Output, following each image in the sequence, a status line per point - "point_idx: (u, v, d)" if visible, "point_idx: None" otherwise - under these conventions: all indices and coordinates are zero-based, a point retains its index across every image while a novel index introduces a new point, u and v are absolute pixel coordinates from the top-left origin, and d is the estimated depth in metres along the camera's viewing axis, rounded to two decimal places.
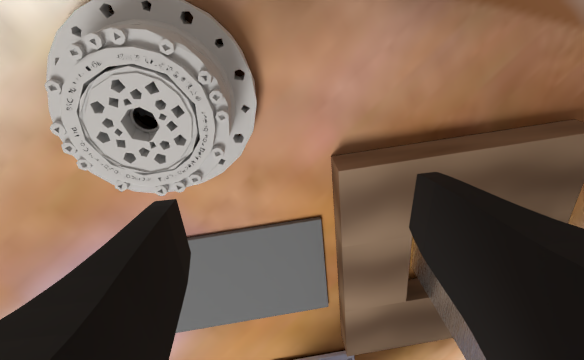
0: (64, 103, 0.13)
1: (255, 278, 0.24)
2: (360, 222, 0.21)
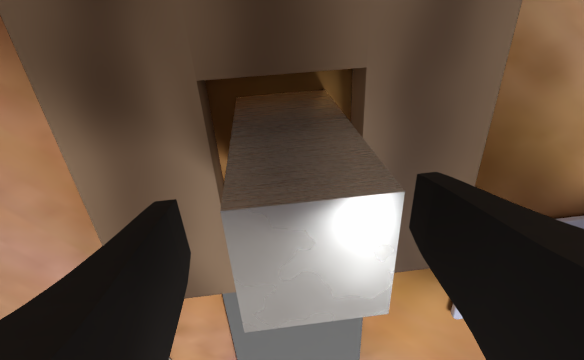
0: None
1: (298, 330, 0.23)
2: (198, 279, 0.17)
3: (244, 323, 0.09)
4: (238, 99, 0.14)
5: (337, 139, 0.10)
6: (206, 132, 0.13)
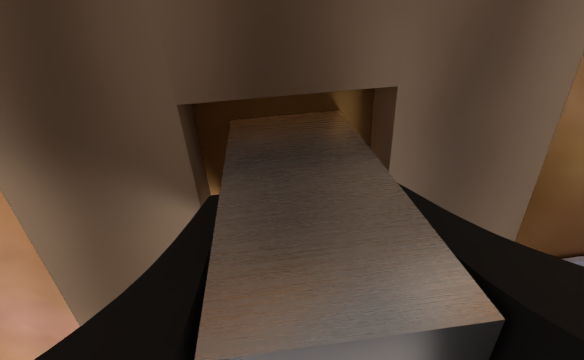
0: None
1: None
2: None
3: None
4: (232, 124, 0.11)
5: (370, 196, 0.07)
6: (191, 168, 0.10)
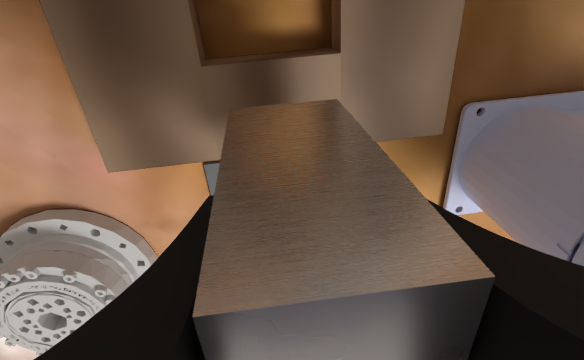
0: None
1: None
2: (178, 142, 0.17)
3: None
4: (231, 112, 0.12)
5: (365, 173, 0.07)
6: None
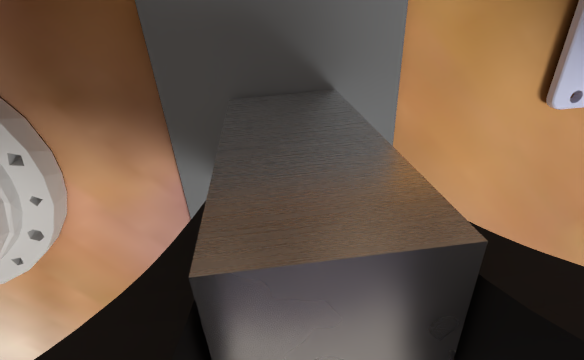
0: None
1: None
2: None
3: None
4: (231, 101, 0.12)
5: (362, 153, 0.07)
6: None
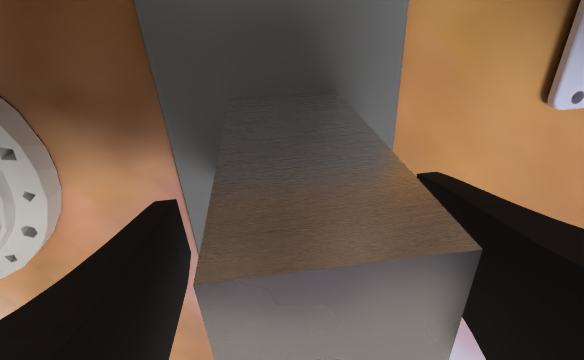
0: None
1: None
2: None
3: None
4: (231, 101, 0.12)
5: (361, 157, 0.07)
6: None
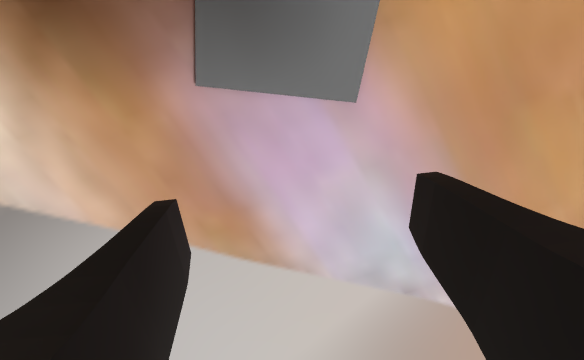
0: None
1: None
2: None
3: None
4: None
5: None
6: None
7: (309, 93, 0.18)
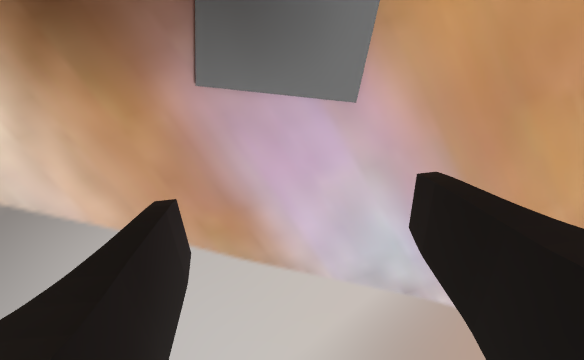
0: None
1: None
2: None
3: None
4: None
5: None
6: None
7: (309, 93, 0.18)
